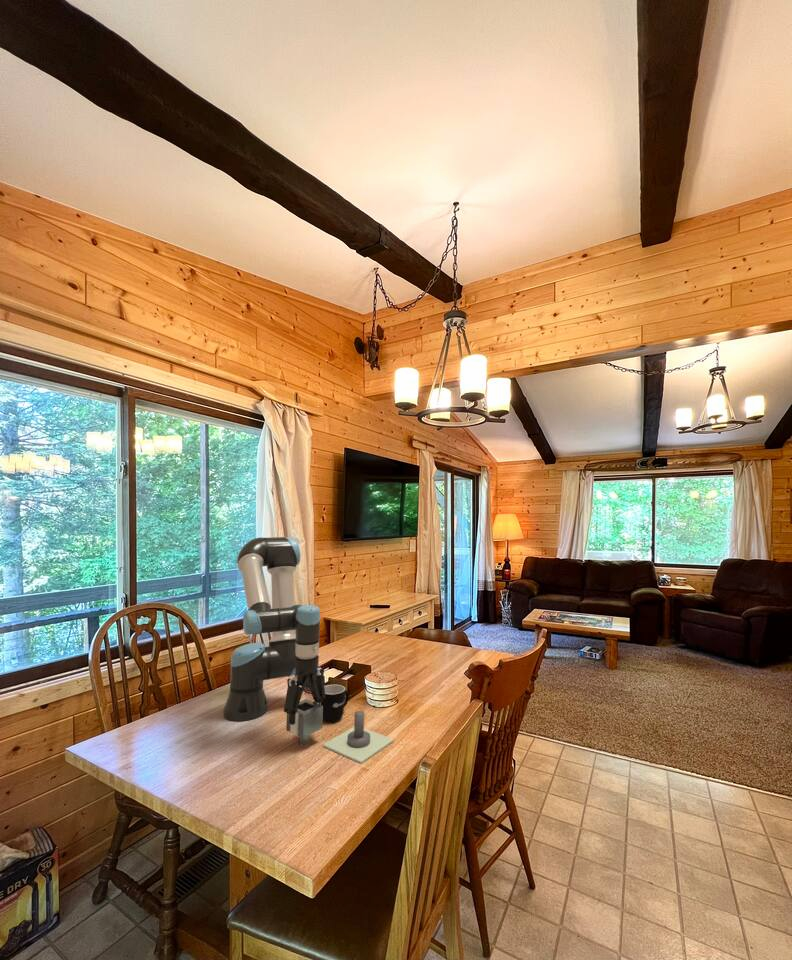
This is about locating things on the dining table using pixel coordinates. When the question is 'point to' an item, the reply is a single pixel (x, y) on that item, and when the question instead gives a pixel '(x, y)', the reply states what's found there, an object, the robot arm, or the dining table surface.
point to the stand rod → (305, 740)
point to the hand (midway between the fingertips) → (304, 728)
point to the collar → (308, 718)
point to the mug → (334, 702)
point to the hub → (358, 741)
